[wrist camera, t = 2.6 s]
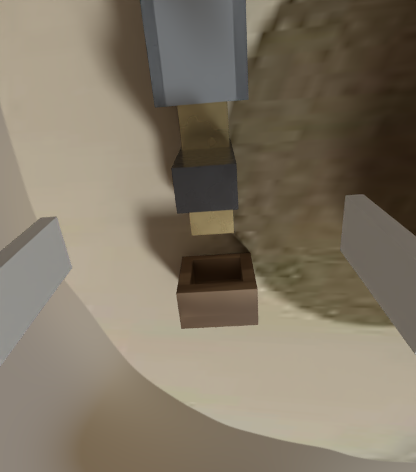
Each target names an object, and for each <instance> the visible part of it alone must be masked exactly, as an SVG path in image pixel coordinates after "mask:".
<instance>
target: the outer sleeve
mask: <svg viewBox="0 0 416 472" xmlns="http://www.w3.org/2000/svg"><path fill="white" fill-rule="evenodd" d="M140 4H141V11H142V19H143V26H144V33H145V40H146V47H147V55H148V62H149V69H150V76H151V83H152V90H153V98H154V105H155V107H166V106H177V105H189V104H201V103H213V102H224V101H236V100H248V69H247V31H246V0H140Z"/></svg>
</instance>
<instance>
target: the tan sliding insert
mask: <svg viewBox="0 0 416 472" xmlns="http://www.w3.org/2000/svg"><path fill="white" fill-rule="evenodd" d="M177 109H178V118H179V127H180V136H181V144H182V146H181V149H180V151H179V153H178V155H177V157H176V160H175V162H174V164H173V166H172V168H171V169H172V177H173V185H174V193H175V200H176V208H177V214H179V213H189V216H190V225H191V234H192V235H208V234H223V233H234V225H233V210H237V209H238V191H237V169H236V160H235V156H234V152H233V148H232V144H231V140H230V138H229V129H228V109H227V101H224V102H213V103H201V104H189V105H177Z"/></svg>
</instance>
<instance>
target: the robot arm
mask: <svg viewBox="0 0 416 472" xmlns="http://www.w3.org/2000/svg"><path fill="white" fill-rule="evenodd" d="M340 251H341V252H342V253H343V255H344V256H345V258H346V259H347V260H348V262H349V263H350V265H351V266H352V267H353V269H354V270H355V271H356V273H357V274H358V276H359V277H360V278H361V280H362V281H363V283H364V284H365V285H366V287H367V288H368V290H369V291H370V292H371V294H372V295H373V296H374V298H375V299H376V301H377V302H378V303H379V305H380V306H381V308H382V309H383V310H384V312H385V313H386V315H387V316H388V317H389V319H390V320H391V321H392V323H393V324H394V326H395V327H396V328H397V330H398V331H399V333H400V334H401V335H402V337H403V338H404V340H405V341H406V342H407V344H408V345H409V346H410V348H411V349H412V351H413V352H414V353H415V354H416V236H415V235H414V234H412V233H411V232H410V231H409V230H407V229H406V228H405V227H404V226H402V225H401V224H400V223H399V222H397V221H396V220H395V219H394V218H392V217H391V216H390V215H389V214H387V213H386V212H385V211H384V210H382V209H381V208H380V207H379V206H377V205H376V204H375V203H374V202H372V201H371V200H370V199H369V198H367V197H366V196H365V195H364V194H358V195H346V196H345V207H344V217H343V227H342V237H341V247H340ZM71 269H72V266H71V262H70V259H69V256H68V252H67V249H66V246H65V242H64V239H63V236H62V232H61V229H60V226H59V222H58V219H57V217H44V218H40V219H39V220H37V221H36V222H35V223H34V224H33V225H31V226H30V227H29V228H28V229H27V230H25V231H24V232H23V233H22V234H21V235H20V236H18V237H17V238H16V239H15V240H13V241H12V242H11V243H10V244H9V245H7V246H6V247H5V248H4V249H3V250H1V251H0V366H1V365H2V363H3V362H4V361H5V359H6V358H7V356H8V355H9V354H10V352H11V351H12V349H13V348H14V347H15V345H16V344H17V343H18V341H19V340H20V339H21V337H22V335H24V333H25V332H26V330H27V329H28V328H29V326H30V325H31V323H32V322H33V321H34V319H35V318H36V317H37V315H38V314H39V313H40V311H41V310H42V308H43V307H44V306H45V304H46V303H47V302H48V300H49V299H50V297H51V296H52V294H53V293H54V292H55V290H56V289H57V288H58V286H59V285H60V284H61V282H62V281H63V280H64V278H65V277H66V275H67V274H68V273H69V271H70V270H71Z"/></svg>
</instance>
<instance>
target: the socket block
mask: <svg viewBox="0 0 416 472" xmlns="http://www.w3.org/2000/svg"><path fill="white" fill-rule="evenodd" d="M176 295H177V302H178V309H179V315H180V322H181V329H185V328H205V327H224V326H244V325H258V293H257V284H256V279H255V274H254V269H253V264H252V259H251V254H250V253H237V254H221V255H205V256H189V257H183V258H182V264H181V269H180V275H179V281H178V287H177V292H176Z"/></svg>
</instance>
